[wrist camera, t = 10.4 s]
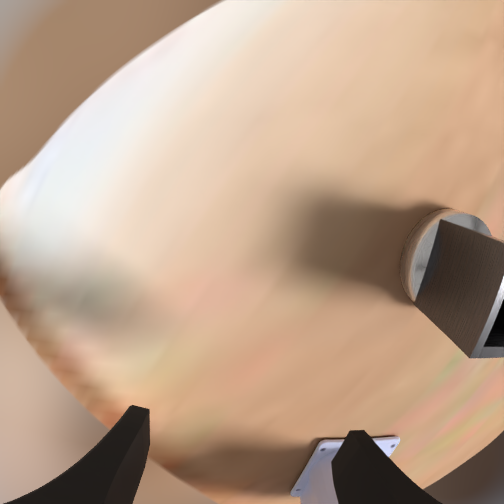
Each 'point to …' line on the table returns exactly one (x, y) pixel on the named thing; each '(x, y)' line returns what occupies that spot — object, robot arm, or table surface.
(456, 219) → the ratchet
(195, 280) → the table surface
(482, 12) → the table surface
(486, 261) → the hollow square tube
